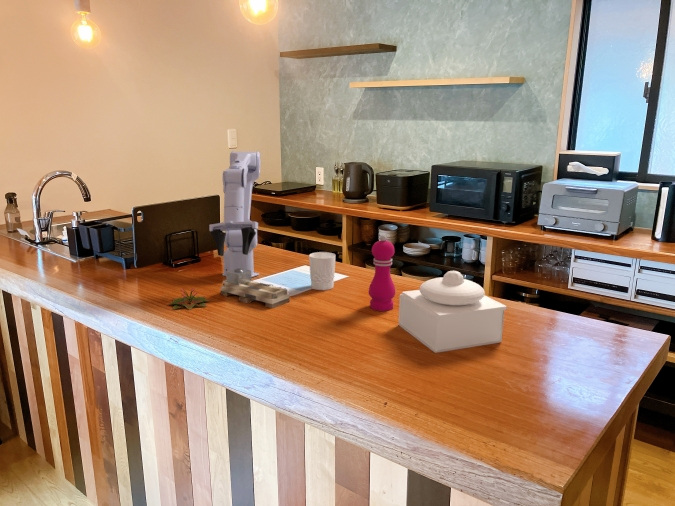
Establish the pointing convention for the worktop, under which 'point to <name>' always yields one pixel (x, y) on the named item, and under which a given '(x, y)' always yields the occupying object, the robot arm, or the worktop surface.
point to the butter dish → (451, 314)
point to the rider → (238, 276)
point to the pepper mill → (382, 276)
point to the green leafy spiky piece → (188, 301)
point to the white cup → (322, 270)
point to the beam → (256, 293)
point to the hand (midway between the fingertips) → (232, 254)
